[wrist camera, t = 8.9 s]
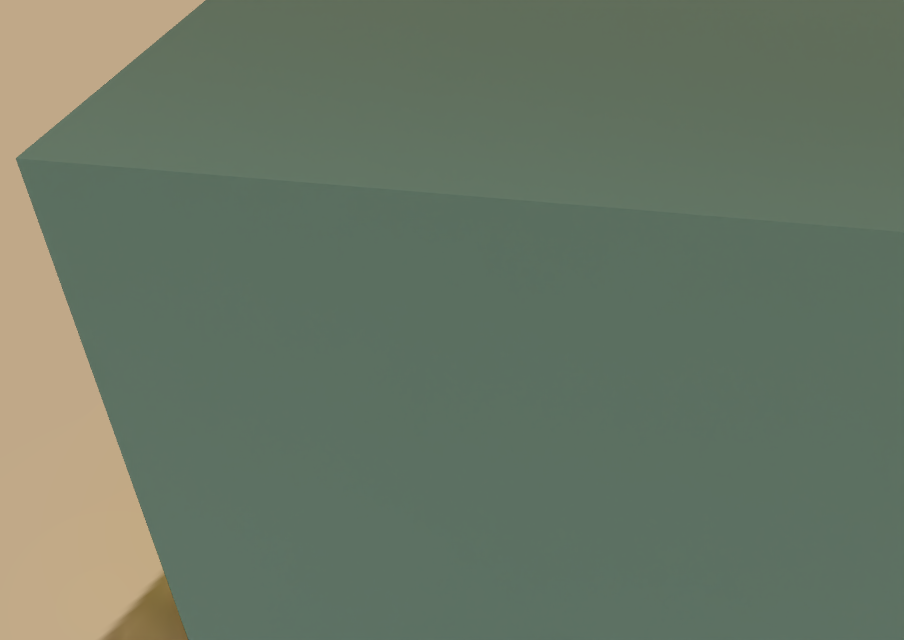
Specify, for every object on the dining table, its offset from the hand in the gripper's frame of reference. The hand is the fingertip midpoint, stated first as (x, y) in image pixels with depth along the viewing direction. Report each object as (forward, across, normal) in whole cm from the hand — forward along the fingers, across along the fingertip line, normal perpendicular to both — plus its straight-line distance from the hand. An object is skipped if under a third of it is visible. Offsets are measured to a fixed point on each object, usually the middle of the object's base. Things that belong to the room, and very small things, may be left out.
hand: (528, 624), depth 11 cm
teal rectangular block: (-1, 0, +10) cm, 10 cm away
